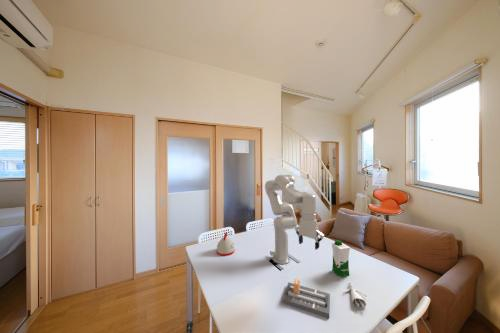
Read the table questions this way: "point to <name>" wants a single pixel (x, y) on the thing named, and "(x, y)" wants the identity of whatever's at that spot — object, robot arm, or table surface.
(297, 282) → the fader
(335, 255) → the milk carton
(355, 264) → the table surface
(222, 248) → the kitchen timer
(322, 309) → the console
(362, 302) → the woman figurine
